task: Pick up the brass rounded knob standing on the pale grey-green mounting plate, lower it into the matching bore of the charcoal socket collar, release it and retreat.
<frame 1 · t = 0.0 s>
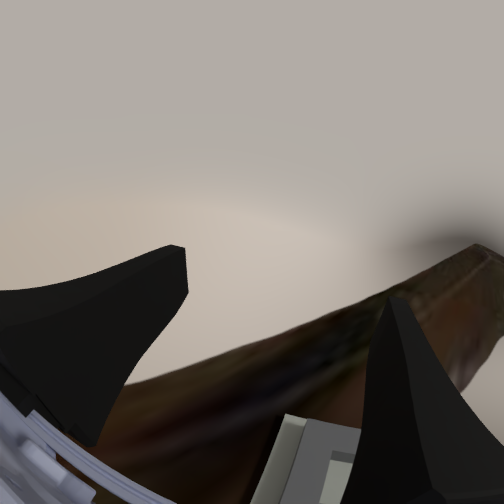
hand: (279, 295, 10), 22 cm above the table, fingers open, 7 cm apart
socket plate: (346, 490, 20), on the table
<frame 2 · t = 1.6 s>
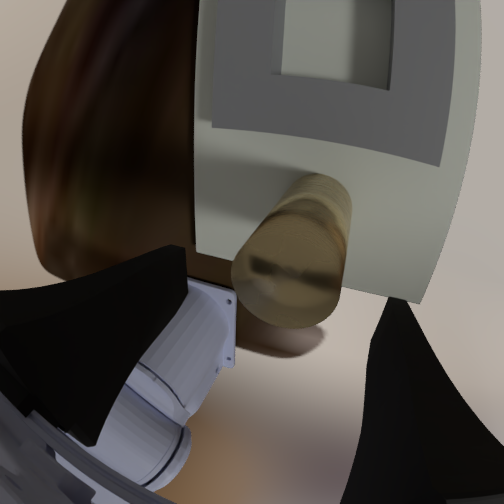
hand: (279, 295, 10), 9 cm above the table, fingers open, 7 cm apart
socket plate: (337, 37, 13), on the table
brass rounded knob: (318, 207, 17), point 1 cm above the table, touching socket plate
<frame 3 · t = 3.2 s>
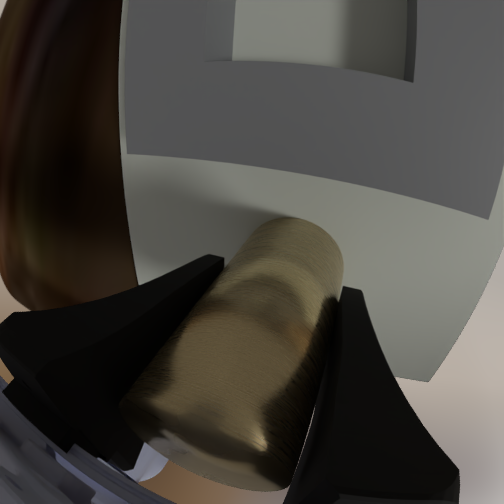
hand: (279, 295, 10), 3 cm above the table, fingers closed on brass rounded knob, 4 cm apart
socket plate: (322, 1, 7), on the table
brass rounded knob: (292, 265, 12), point 1 cm above the table, touching gripper, socket plate
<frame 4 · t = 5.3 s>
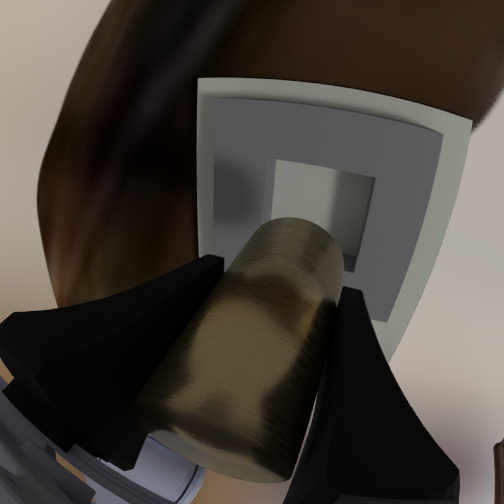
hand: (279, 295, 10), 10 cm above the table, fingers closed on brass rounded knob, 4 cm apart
socket plate: (320, 200, 18), on the table
brass rounded knob: (294, 263, 12), point 7 cm above the table, touching gripper
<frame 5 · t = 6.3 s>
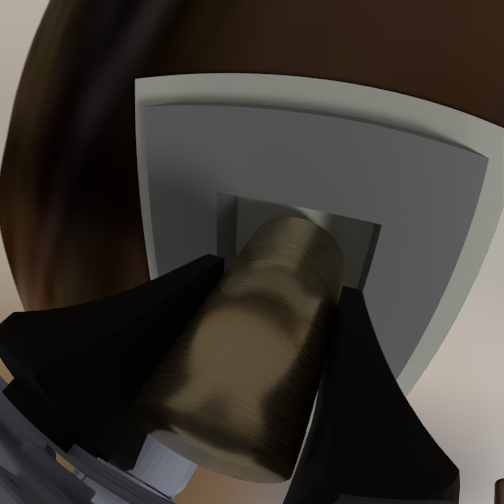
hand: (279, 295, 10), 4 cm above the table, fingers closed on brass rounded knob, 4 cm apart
socket plate: (302, 243, 13), on the table
brass rounded knob: (294, 263, 12), point 2 cm above the table, touching gripper
when the fingers open (4 cm above the table, at t = 7.2 s): brass rounded knob stays where it is, resting on socket plate.
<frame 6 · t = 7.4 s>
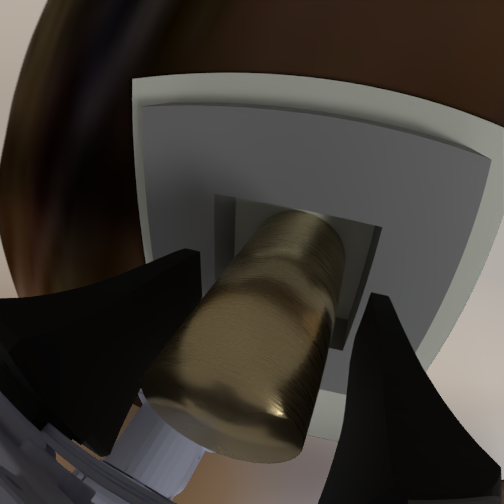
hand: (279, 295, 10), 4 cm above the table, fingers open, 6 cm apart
socket plate: (301, 245, 13), on the table
brass rounded knob: (297, 256, 13), point 1 cm above the table, touching socket plate
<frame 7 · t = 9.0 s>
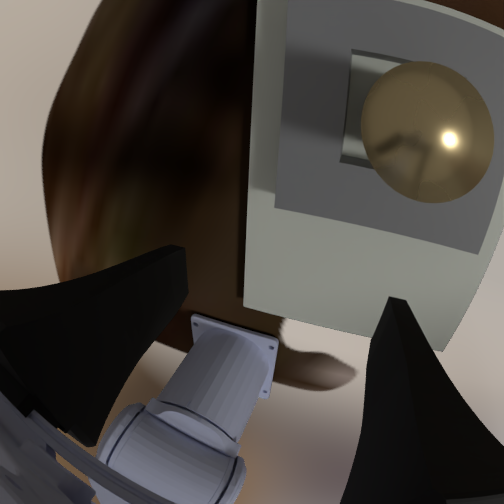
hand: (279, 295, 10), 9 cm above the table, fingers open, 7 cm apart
socket plate: (398, 114, 14), on the table
brass rounded knob: (400, 116, 13), point 1 cm above the table, touching socket plate
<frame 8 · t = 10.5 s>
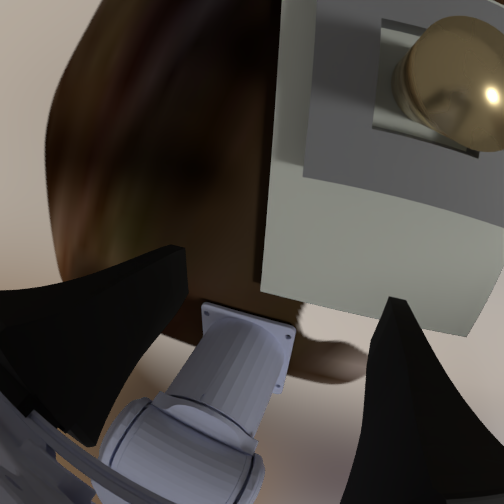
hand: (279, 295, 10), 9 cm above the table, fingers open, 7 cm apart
socket plate: (424, 88, 12), on the table
brass rounded knob: (427, 89, 12), point 1 cm above the table, touching socket plate
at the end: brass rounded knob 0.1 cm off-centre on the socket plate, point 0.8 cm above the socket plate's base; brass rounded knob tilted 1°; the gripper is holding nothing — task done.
